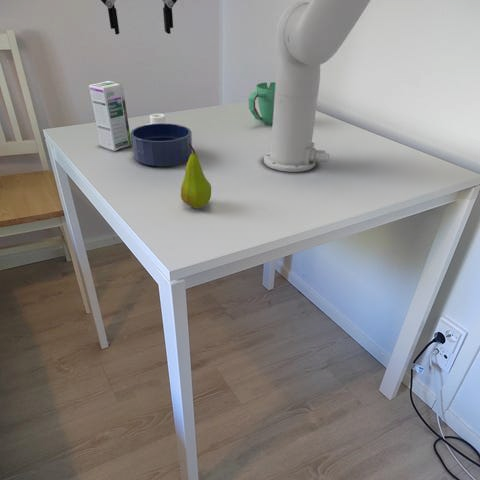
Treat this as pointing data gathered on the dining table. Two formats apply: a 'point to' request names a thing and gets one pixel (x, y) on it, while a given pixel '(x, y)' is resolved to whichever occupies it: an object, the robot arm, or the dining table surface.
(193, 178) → the fruit
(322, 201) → the dining table surface
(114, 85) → the syrup box
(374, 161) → the dining table surface
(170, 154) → the bowl
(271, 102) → the mug
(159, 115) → the candle holder
